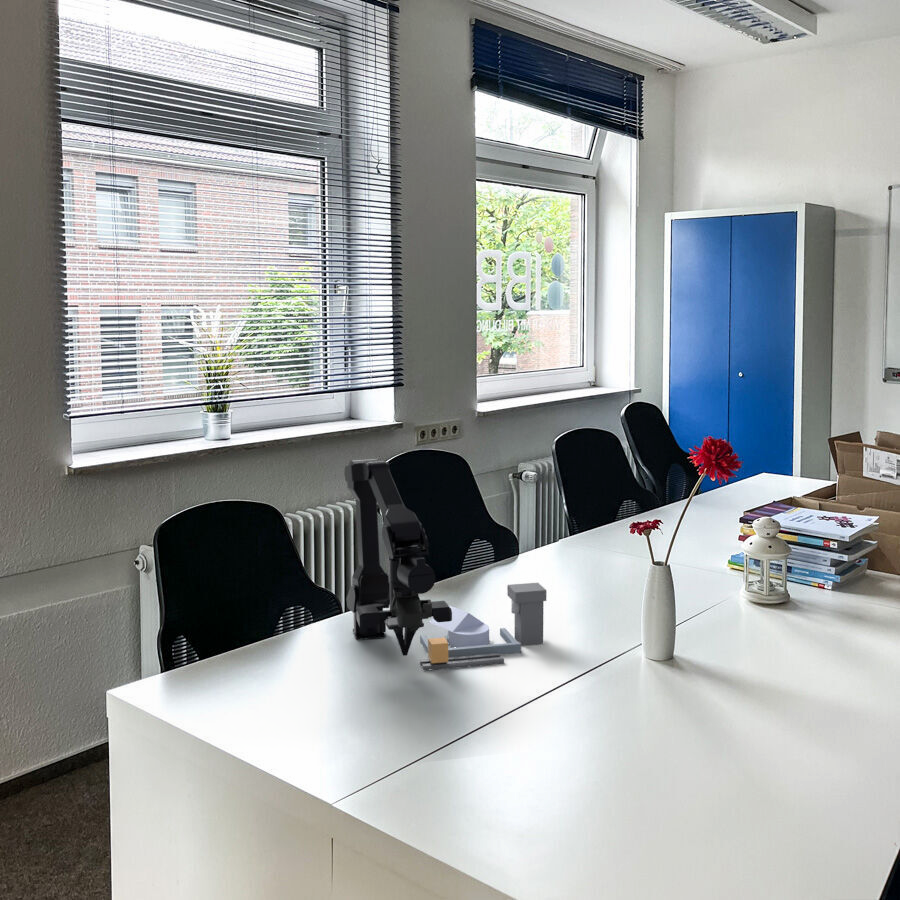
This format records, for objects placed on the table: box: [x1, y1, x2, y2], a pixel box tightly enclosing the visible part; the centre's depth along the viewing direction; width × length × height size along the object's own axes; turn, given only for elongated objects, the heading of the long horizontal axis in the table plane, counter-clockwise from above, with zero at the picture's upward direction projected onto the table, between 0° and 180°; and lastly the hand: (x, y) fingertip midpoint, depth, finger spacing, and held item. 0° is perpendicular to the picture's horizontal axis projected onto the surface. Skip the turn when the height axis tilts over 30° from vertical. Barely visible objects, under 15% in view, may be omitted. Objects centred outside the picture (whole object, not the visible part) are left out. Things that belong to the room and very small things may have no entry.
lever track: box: [419, 653, 505, 671], centre depth 205 cm, size 17×4×1 cm, turn 103°
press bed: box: [419, 582, 547, 657], centre depth 215 cm, size 26×12×12 cm, turn 103°
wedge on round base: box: [429, 605, 490, 648], centre depth 219 cm, size 9×7×13 cm
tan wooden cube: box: [427, 637, 449, 663], centre depth 203 cm, size 4×4×5 cm
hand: (404, 655), depth 202 cm, fingers closed
